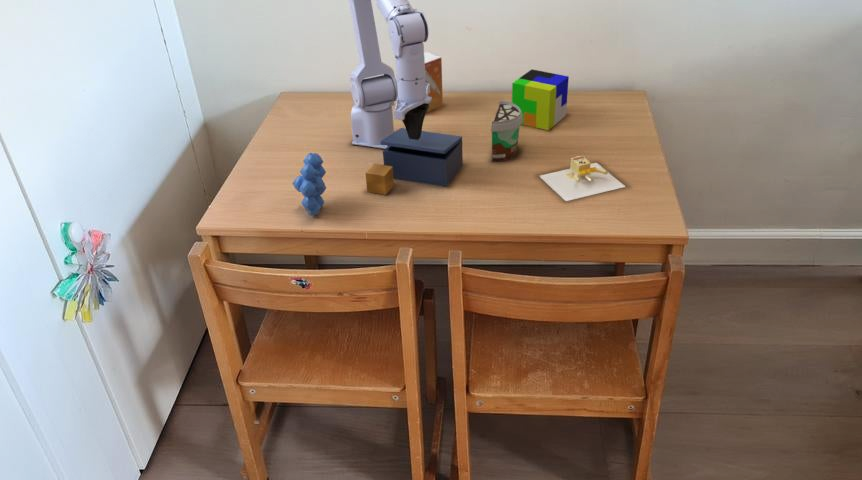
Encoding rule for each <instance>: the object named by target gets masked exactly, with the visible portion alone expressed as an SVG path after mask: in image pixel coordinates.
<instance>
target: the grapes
mask: <svg viewBox="0 0 862 480" xmlns="http://www.w3.org/2000/svg"><path fill="white" fill-rule="evenodd" d="M303 164H304V165H303V167H302V168H301V170H300V171H299V173H300V174H299V175H298V176H296V177H295V179H294V180H293V181H292V183H291V184H292V185H293V187H294V189H295V190H296V191H297V192H299V193H301V194H302V196H303V199H302V200H301V205H302V207H303V209H305V210H306V212H307V214H308V215H309V216H311V217H315V216H316V215H318V213H319V212H320V211H321V209H322V207H323V205H324V204H325V200H324V198H323V197H322V195H323V194H324V193H325V191H326V190H327V186H326V182H324V179H323V177H324V176H325V175H326V173H327V171H326V169H325V168H324V167H323V164H324V160H323V158H322V157H321V156H320V155H319V153H315V152H314V153H313V152H310V153H308V154H307V155H306V156H305V158H304V159H303Z"/></svg>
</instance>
